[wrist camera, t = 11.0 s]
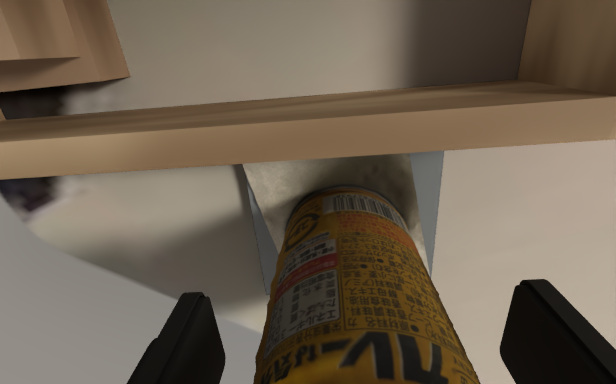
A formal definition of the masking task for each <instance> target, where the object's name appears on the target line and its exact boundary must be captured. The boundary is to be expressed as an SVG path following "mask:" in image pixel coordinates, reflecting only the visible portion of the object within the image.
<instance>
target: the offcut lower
mask: <svg viewBox="0 0 616 384" xmlns="http://www.w3.org/2000/svg"><path fill="white" fill-rule="evenodd" d="M63 3H64V6H65V9H66V12H67V15H68V18H69V22H70V25H71V28H72V31H73V34H74V37H75V40H76V43H77V46H78V49H79V52H80V56H81V57H64V58H44V59H24V60H5V61H0V92H7V91H16V90H25V89H34V88H43V87H52V86H61V85H70V84H79V83H89V82H98V81H105V80H112V79H118V78H124V77H130V74H129V71H128V67H127V64H126V61H125V58H124V55H123V52H122V49H121V45H120V42H119V39H118V36H117V33H116V30H115V27H114V24H113V20H112V17H111V14H110V11H109V8H108V5H107V2H106V0H63Z"/></svg>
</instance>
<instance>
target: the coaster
mask: <svg viewBox="0 0 616 384" xmlns="http://www.w3.org/2000/svg"><path fill="white" fill-rule="evenodd" d="M409 155H410V161H411V167H412V172H413V179H414V184H415V190H416V195H417V203H418V209H419V216H420V221H421V228H422V234H423V239H424V245H425V251H426V256H427V262H428V267H429V273H430V279H431V273H432V263H433V254H434V244H435V234H436V225H437V215H438V206H439V196H440V186H441V177H442V167H443V158H444V151H429V152H413V153H409ZM244 171H245V170H244ZM245 176H246V182H247V188H248V193H249V199H250V205H251V211H252V216H253V222H254V228H255V233H256V239H257V245H258V250H259V256H260V262H261V267H262V273H263V279H264V284H265V290H266V295H270V291H271V286H270V284H271V282H272V280H273V278H274V277H275V273H276V263H277V260H278V255H279V253H278V251H277V248H276V246H275V243H274V241H273V239H272V237H271V234H270V232H269V230H268V227H267V225H266V223H265V221H264V218H263V215H262V212H261V210H260V208H259V206H258V204H257V201H256V198H255V195H254V192H253V190H252V188H251V186H250V183H249V181H248V179H247V175H246V173H245ZM302 189H303V188H302ZM301 191H302V190H301ZM299 198H300V197H298V199H299Z"/></svg>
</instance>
